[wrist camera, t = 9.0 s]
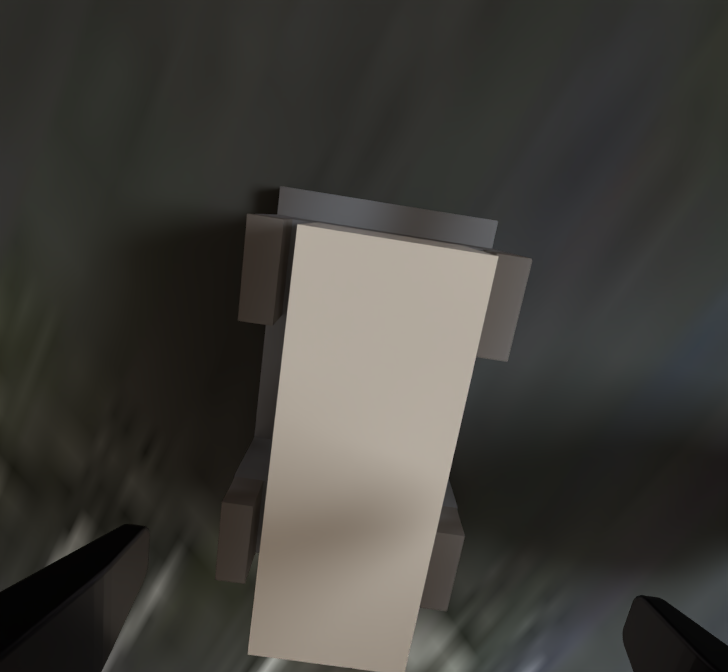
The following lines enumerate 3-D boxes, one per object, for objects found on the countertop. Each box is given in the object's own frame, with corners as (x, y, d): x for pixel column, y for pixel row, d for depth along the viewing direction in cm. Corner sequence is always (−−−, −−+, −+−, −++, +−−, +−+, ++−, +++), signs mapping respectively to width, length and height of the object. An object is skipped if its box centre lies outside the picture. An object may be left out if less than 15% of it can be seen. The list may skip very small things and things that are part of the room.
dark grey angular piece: (491, 220, 18) (543, 222, 12) (424, 530, 21) (442, 634, 16) (285, 187, 18) (248, 175, 12) (251, 505, 21) (211, 603, 16)
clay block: (463, 245, 14) (498, 256, 10) (396, 571, 17) (404, 675, 13) (317, 222, 14) (297, 224, 10) (275, 554, 17) (248, 654, 13)
